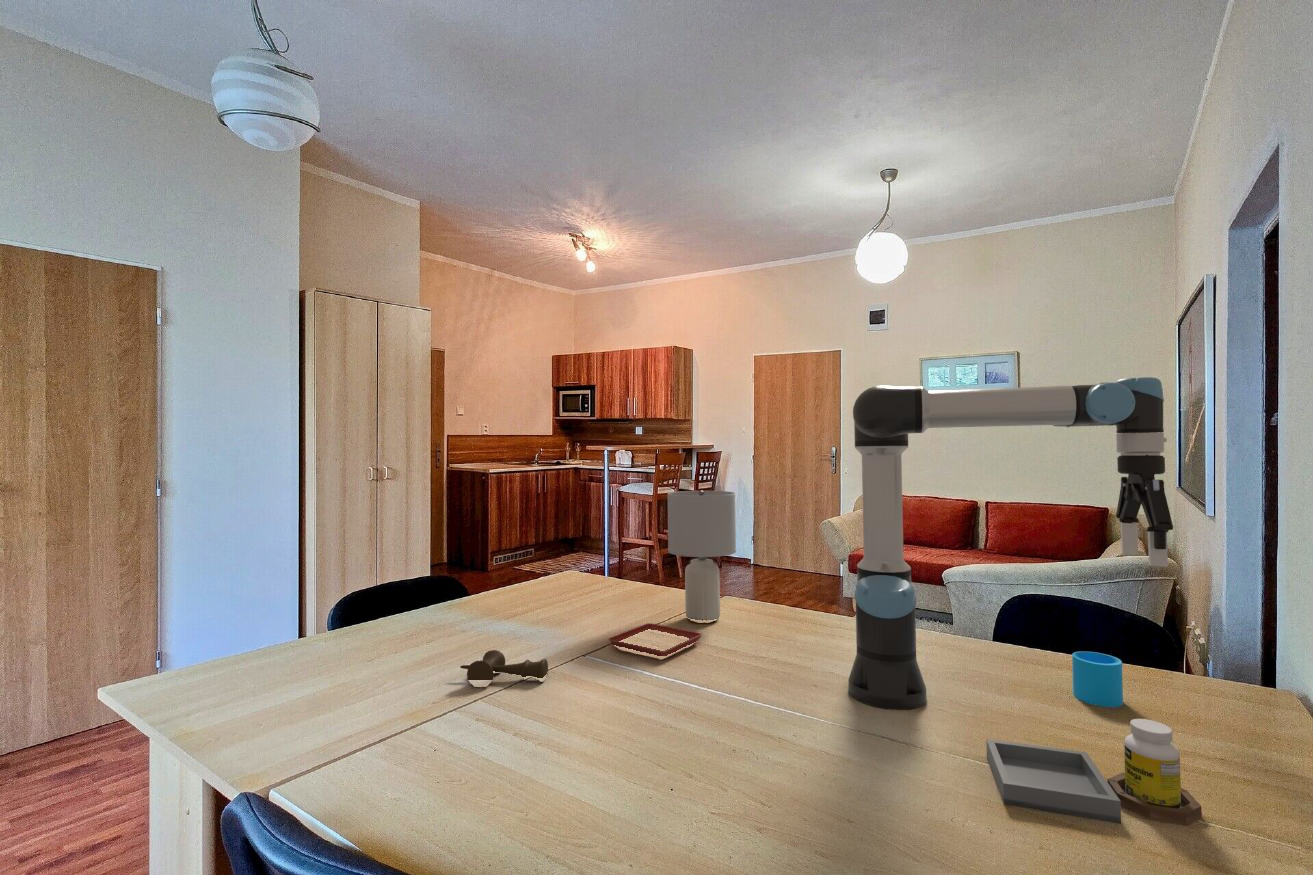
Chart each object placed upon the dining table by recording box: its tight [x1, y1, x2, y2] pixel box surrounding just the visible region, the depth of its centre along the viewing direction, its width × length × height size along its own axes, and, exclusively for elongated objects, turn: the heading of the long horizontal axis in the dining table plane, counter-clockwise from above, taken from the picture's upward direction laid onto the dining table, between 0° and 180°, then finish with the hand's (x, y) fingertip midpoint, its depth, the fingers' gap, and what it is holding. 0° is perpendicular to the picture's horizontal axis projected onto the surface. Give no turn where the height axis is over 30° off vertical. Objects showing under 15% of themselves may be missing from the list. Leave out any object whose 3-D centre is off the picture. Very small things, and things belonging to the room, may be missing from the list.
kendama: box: [459, 649, 549, 681], centre depth 136 cm, size 6×10×20 cm
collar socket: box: [1106, 772, 1203, 827], centre depth 87 cm, size 10×10×2 cm
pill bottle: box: [1123, 718, 1182, 809], centre depth 87 cm, size 6×6×11 cm
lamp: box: [667, 489, 737, 621], centre depth 183 cm, size 20×20×39 cm
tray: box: [985, 738, 1122, 825], centre depth 91 cm, size 14×14×3 cm
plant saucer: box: [607, 623, 703, 656], centre depth 158 cm, size 18×18×3 cm
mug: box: [1071, 651, 1124, 708], centre depth 124 cm, size 12×8×8 cm
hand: (1143, 559), depth 122 cm, fingers open, 13 cm apart
